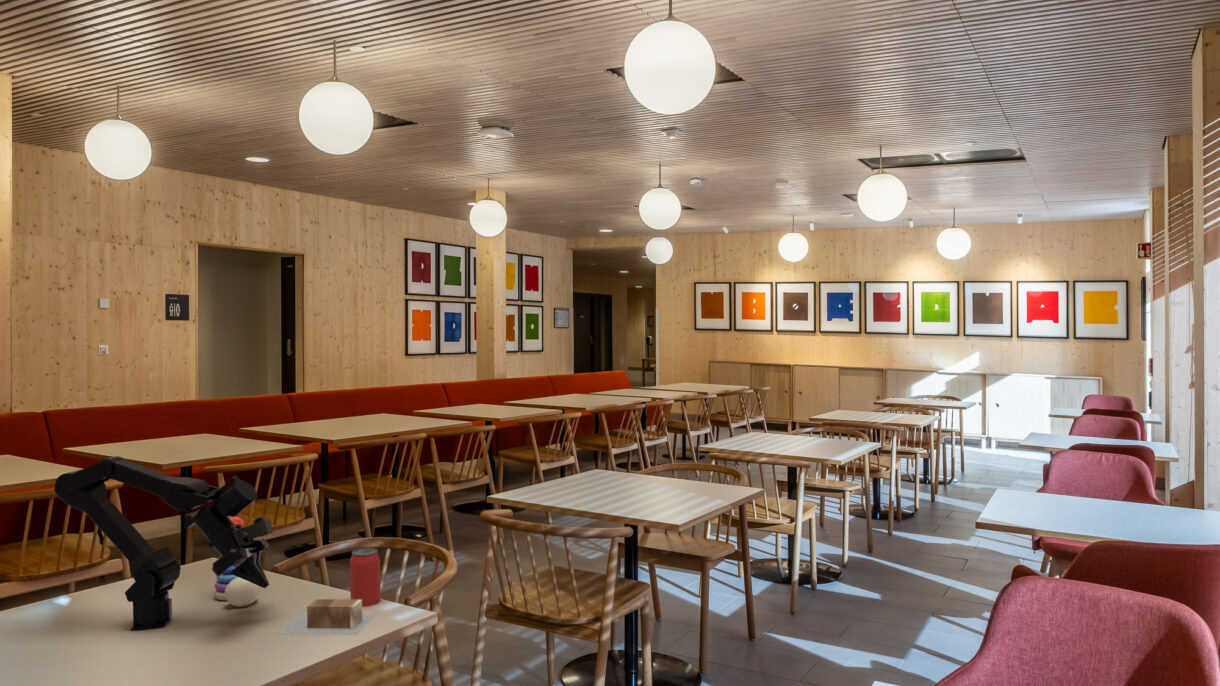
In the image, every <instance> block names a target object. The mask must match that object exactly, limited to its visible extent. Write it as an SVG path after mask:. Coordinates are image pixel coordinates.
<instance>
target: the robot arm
mask: <svg viewBox="0 0 1220 686" xmlns="http://www.w3.org/2000/svg"><path fill="white" fill-rule="evenodd" d="M110 480H114V481H116V482H119V483H122V484H125V485H128V486H131V487H133V488H136V489H140V490H142V491H145V492H146V493H147V492H148V493H150V494H153V495H156V496H157V497H159V498H160V499H161V500H162V501H163V502H164V503H165V504H166V505H168V506H170V507H171V508H173V509H175V510H176V511H178V512H183V513H185V512H189V511H192V510H194V509H196V508H199V507H200V508H199V509H198V510H197V511H196V512H194V513H193V512H191V513H189V514H187V515H185V522H184V526H183V527H184V529H188V528H191V527H193V526H194V527H195V526H196V527H197V528H198V530H199V531H201V533H202V534H203V535H204V536H205V538H206V539H207V540H208V541H209V543H207V546H209V548H211V549H212V548H214V549H215V550H217V552H218V553H219V554H220V556H222V557H220V556H219V558H218V559H216V560H215V561H214V562H213V563H212V566H211V567H212V568H211V570H212V572H213V573H214V574H215V576H216V578H217V577H219V576H221V575H223V574H224V573H225V571H226V570H227V569H228V568H230V567H231V566H232V565H233V564H234V565H233V567H234V568H235V569H234V570H233V571H231V572H230V573H229V574H231V575H235V576H237V577H239V578H242V579H244V580H247V581H249V582H251V583H253V584H256V585H258V586H259V588H262V589H266V588H267V587H268V586H269V585H270V583H269V580H268V578H267V576H266V574H265V573H266V572H265V571H264V567H263V566H262V563H261V557H262V555H263V551H264V550H265V549H266V548H267V547H269V546H270V543H268V541H267V540H266V539H265V538H264V536H267V535H270V534H273V533H274V530H273V527H272V526H273V522H272V521H270V518H266V517H265V516H263V515H262V516H260V517H257V518H255V519H254V520H253V523H252V524H250V525H247V526H245V527H244V528H243V527H242V525H241V524H234V523H233V522H232V521H231V519H230V518H229V517H238V516H239V515H240V514H241V513H242V512H243V511H245V509H247V508H248V507H249V506H250V505H252V504H253V503H254V502H255V501H256V500H257V499H258V492H257V491H256V489H255V487H254V486H253V485H252V484H250V483H249V482H247V481H245V480H243V479H240V477H239V476H237V475H235V476H233V477H230V478H229V479H227V481H226V482H225V484H224V485H222V486H221V487H217V486H213V485H209V483H208V482H207V481H205V480H203V479H199V478H195V477H187V476H186V477H184V476H183V477H182V476H181V477H180V476H173V475H169V474H166V473H163V472H160V471H158V470H155V469H152V468H149V467H146V466H144V465H141V464H137V463H135V462H133V461H129V460H128V459H125V458H124V457H122V456H118V455H117V456H116V455H115V456H112V457H107V458H103V459H101V460H100V461H98V462H96V463H94V464H92V465H90V466H87V467H85V468H80V469H77V470H73V471H69V472H66V473H62V474H60V475H59V476H58V477H57V478H56V480H55V483H54V488H53V490H54V493H55V495H56V496H57V497H58V498H59V499H61V501H62V502H64V503H65V504H67V505H68V506H69V507H72V508H74V509H77V510H79V511H80V512H83V513H85V514H86V515H87V516H88V517H89V518H90V520H91V521H92V522H93V523H94V524H95V525H96V526H97V527H98V528H99V529H100V531H101V532H102V533H103V534H104V536H106V538H108V539H109V541H110V542H111V543H112V544H113V545H114V547H116V549H117V550H118V551H119V552H120V553H121V554H122V556H124V557H125V559H126V560H127V561H128V562H129V568H130V575H131V577H132V578H133V580H134V582H133V583H132V585H130V586H129V588H128V589H127V590H125V592H124V594H125V597H126V600H127V602H129V603H131V602H132V623H133V624H132V626H131V627H130V630H131V631H137V630H145V629H154V628H164V627H166V626H167V624H168V623H169V621H170V620H171V619H172V617H173V602H172V601H173V599H172V598H171V597H169V596H170V595H169V593H170V592H169V591H170V590H172V589H173V588H174V586H175V583H176V581H177V580H178V579H179V578H180V575H181V568H182V567H181V565H180V563H179V562H178V561H179V559H180V558H178V557H177V556H175V555H173V553H172V552H171V551H170V549H169V548H168V546H166V545H164V546H162V547H160V548H156V547H154V546H152V545H151V544H150V543H149V542H148V541H147V540H146V539H145V537H144V536H142V534H141V533H140V532H139V531H138V530H137V529H136V527H134V526H133V524H132V523H131V522H130V521H129V520H128V519H127V518H126V516H124V514H123V513H122V512H121V511H120V510H119V509H118V507H117V506H116V505H115V504H114V503H113V502H112V500H110V499H109V497H108V492H107V486H106V484H105V483H106V482H108V481H110ZM211 502H212V503H211ZM209 503H211V504H210V505H209V506H208V505H206V504H209ZM201 506H202V507H201ZM259 537H261V538H259ZM262 537H263V538H262Z"/></svg>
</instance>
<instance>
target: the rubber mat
mask: <svg viewBox="0 0 1220 686" xmlns="http://www.w3.org/2000/svg"><path fill="white" fill-rule="evenodd" d="M375 617H376V614H368V615H367V614H362V621H361V622H360V623H359V624H358V625H357V626H356V627H355V628H307V614H299V615H297V616H296V617H295V618H293V619H292V620H290V621H289V622H288V623H287V624H286V625H284V626H283V627H282V628H281V629H280V630H278V631H277V632H275V635H321V636H322V635H326V636H327V635H335V636H336V635H337V636H339V635H340V636H342V635H345V636H348V635H349V636H357V635H358V634H359V633H360V632H361V631H362V630H363V629H364V628H365V627H366V626H367V624H369V623H370V622H371V621H372V620H373V619H374V618H375Z"/></svg>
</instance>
